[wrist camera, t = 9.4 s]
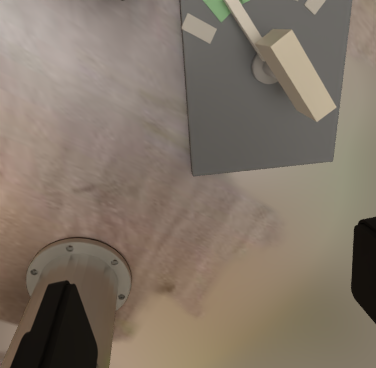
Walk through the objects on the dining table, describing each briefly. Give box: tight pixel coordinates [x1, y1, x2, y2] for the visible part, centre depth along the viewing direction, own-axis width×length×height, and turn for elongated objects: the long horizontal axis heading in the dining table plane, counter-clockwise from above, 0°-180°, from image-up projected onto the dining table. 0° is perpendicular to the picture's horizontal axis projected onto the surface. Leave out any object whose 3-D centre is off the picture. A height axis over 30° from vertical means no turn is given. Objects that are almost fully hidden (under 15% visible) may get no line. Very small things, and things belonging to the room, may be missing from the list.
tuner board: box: [180, 0, 352, 176], centre depth 34 cm, size 22×16×1 cm
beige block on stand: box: [223, 0, 337, 122], centre depth 29 cm, size 11×3×9 cm, turn 38°
